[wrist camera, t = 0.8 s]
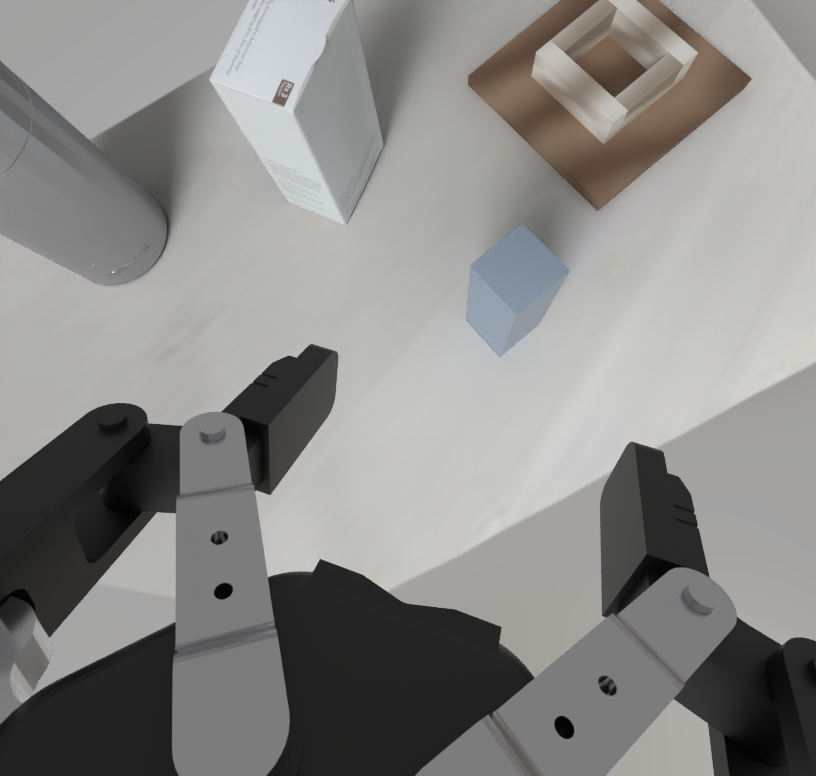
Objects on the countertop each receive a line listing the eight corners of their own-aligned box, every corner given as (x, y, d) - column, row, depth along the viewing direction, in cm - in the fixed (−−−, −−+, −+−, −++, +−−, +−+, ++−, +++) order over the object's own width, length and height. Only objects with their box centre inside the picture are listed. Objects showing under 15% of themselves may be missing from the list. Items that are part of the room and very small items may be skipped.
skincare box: (327, 126, 44) (264, -46, 29) (389, 148, 43) (355, -18, 28) (286, 208, 43) (199, 73, 28) (348, 232, 42) (291, 106, 27)
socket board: (468, 84, 43) (469, 51, 40) (606, -29, 44) (619, -71, 40) (597, 210, 40) (611, 186, 37) (744, 88, 41) (771, 53, 37)
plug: (466, 320, 40) (470, 265, 29) (504, 288, 40) (522, 222, 29) (499, 357, 39) (516, 315, 28) (538, 325, 39) (569, 270, 28)
